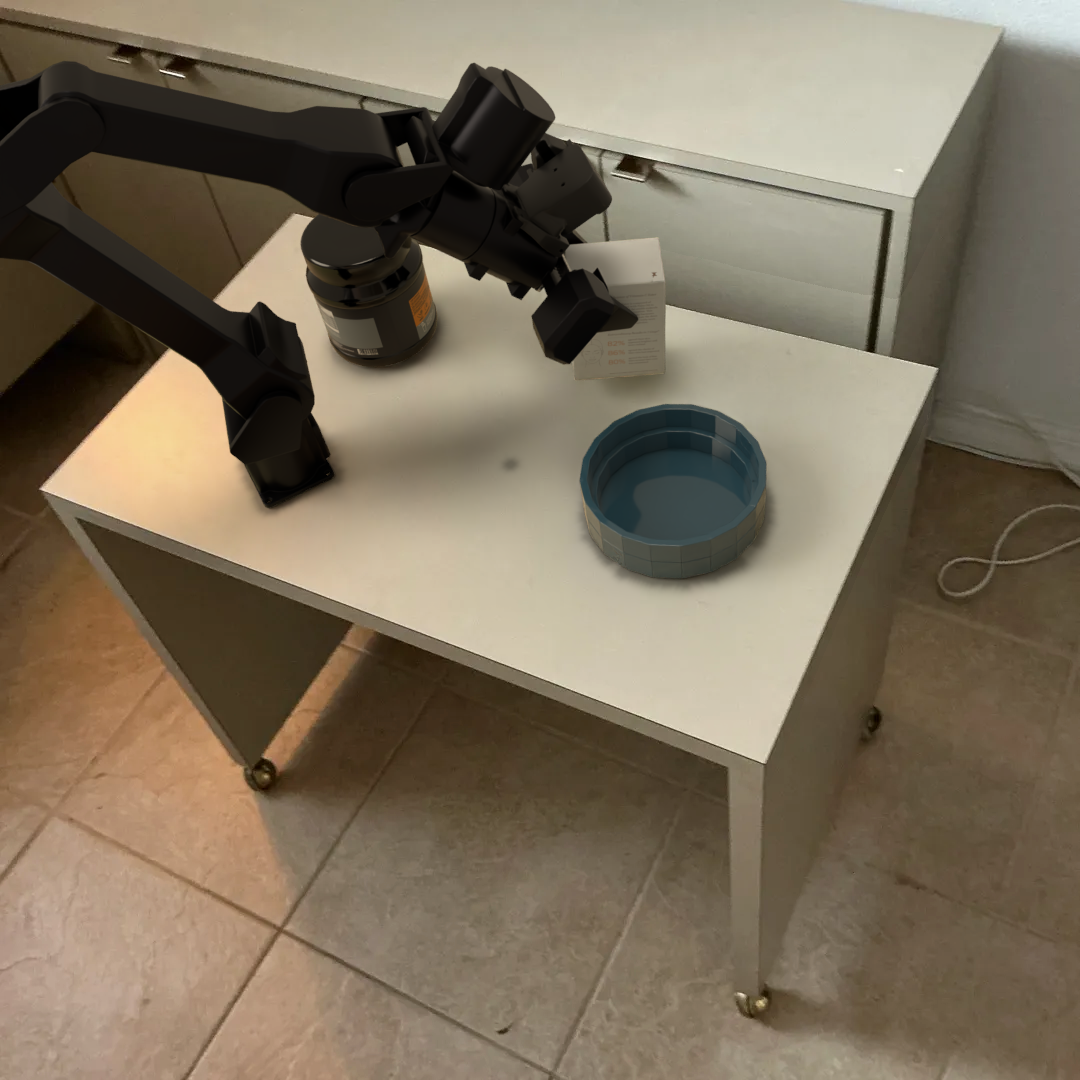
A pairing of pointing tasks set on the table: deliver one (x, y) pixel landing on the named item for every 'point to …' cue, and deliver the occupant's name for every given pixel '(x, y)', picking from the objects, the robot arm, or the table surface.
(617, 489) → the bowl
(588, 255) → the small box
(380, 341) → the supplement container
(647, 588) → the table surface
